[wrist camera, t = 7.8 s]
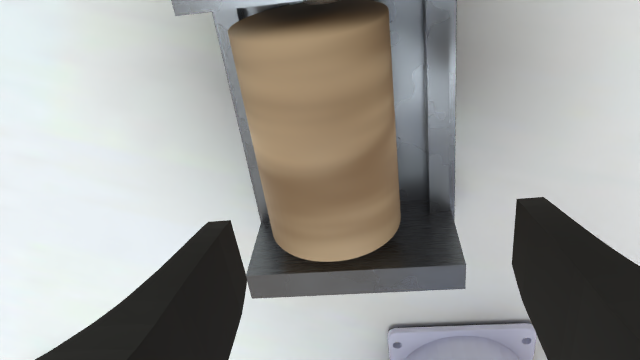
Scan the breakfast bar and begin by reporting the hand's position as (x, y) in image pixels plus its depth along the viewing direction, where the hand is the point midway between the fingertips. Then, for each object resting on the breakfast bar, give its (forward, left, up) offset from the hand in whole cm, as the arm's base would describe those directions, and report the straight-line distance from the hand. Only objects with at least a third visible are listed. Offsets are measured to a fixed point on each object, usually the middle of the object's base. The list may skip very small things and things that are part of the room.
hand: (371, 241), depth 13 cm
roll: (0, +1, -9) cm, 9 cm away
